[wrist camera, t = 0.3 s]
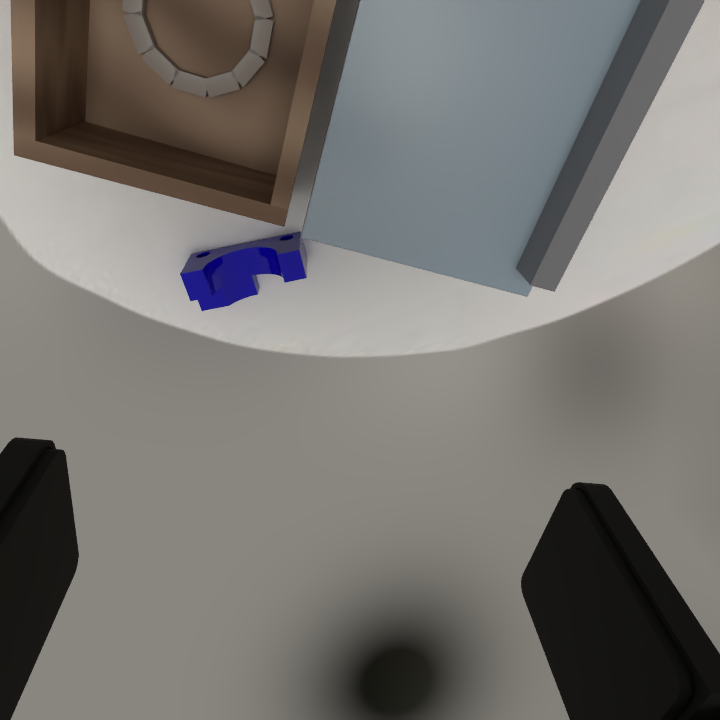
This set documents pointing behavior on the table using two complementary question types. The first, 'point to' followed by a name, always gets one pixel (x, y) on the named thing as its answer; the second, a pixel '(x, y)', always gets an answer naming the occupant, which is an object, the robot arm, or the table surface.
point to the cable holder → (242, 269)
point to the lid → (486, 129)
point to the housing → (171, 94)
